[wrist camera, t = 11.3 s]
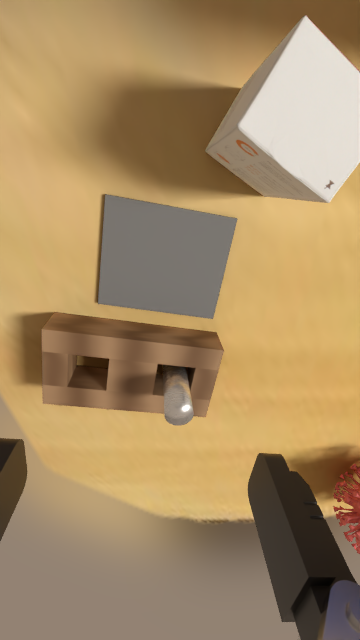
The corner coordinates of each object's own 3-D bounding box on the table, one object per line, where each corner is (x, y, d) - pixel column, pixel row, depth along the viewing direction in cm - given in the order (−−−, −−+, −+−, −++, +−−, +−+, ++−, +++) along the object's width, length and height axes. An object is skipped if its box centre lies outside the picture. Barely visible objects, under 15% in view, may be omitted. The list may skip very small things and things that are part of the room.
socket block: (216, 332, 38) (223, 350, 34) (200, 394, 42) (205, 417, 38) (54, 312, 35) (41, 329, 31) (54, 380, 39) (42, 403, 35)
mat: (236, 218, 32) (237, 218, 32) (212, 317, 37) (212, 318, 37) (105, 194, 30) (105, 194, 30) (98, 302, 35) (97, 303, 35)
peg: (186, 352, 39) (196, 404, 30) (182, 371, 40) (190, 426, 31) (164, 350, 38) (166, 401, 29) (160, 369, 40) (162, 424, 31)
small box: (304, 140, 30) (403, 111, 18) (264, 198, 32) (329, 206, 20) (241, 84, 27) (306, 9, 15) (202, 150, 29) (234, 129, 17)
